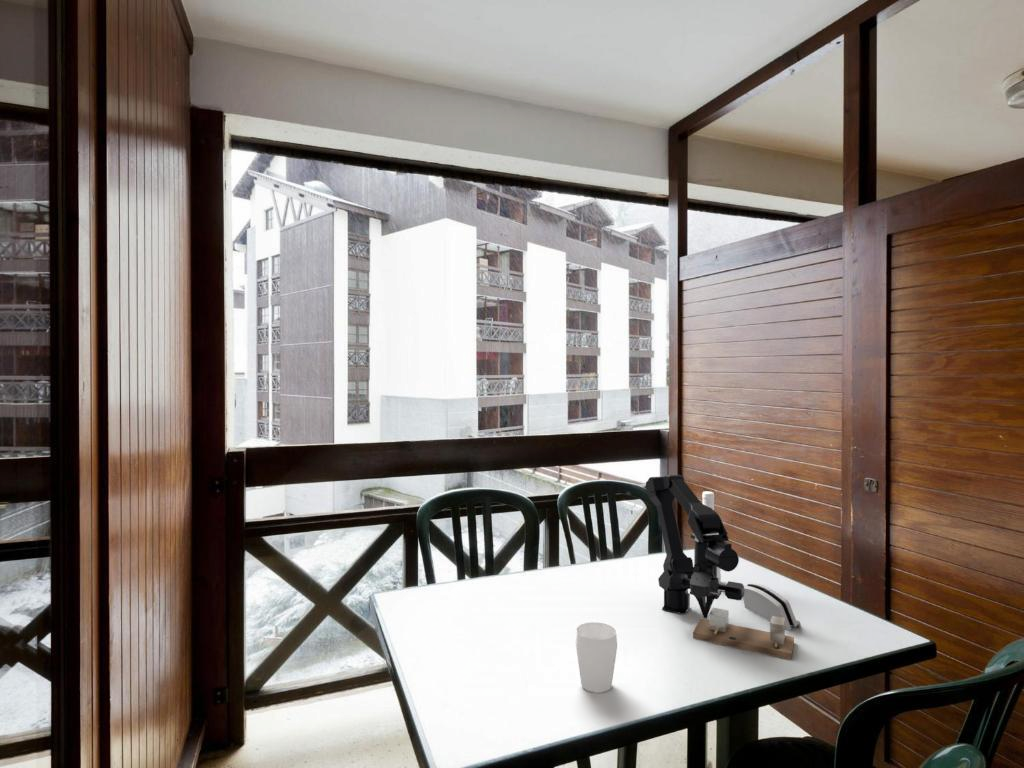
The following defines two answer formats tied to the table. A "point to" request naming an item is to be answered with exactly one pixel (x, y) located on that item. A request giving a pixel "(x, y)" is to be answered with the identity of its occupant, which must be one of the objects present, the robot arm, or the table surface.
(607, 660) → the cup
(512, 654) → the table surface
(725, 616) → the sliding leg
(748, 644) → the hole board
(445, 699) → the table surface
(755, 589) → the light grey curved piece
